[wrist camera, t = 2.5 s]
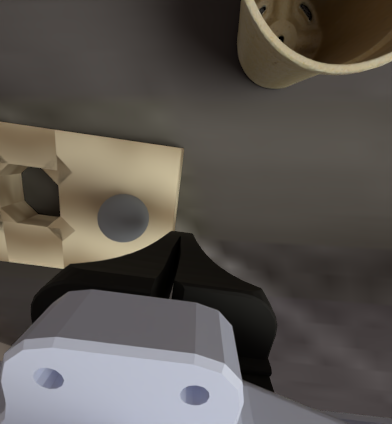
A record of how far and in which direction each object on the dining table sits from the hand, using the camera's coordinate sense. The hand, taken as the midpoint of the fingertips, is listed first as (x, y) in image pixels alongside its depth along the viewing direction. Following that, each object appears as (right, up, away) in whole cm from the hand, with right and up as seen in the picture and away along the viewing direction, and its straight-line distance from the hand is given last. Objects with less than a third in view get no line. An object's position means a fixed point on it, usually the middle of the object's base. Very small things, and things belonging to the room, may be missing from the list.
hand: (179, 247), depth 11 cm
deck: (-9, +3, +7) cm, 12 cm away
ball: (-4, +2, +3) cm, 6 cm away
